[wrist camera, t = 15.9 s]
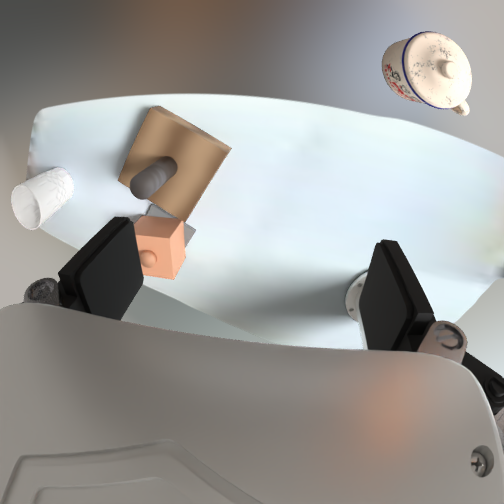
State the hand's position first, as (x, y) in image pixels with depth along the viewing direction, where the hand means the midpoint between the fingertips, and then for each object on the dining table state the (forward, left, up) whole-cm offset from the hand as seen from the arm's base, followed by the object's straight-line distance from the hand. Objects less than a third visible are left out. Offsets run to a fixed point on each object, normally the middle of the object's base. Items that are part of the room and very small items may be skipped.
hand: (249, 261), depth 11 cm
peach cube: (+6, +23, -30) cm, 38 cm away
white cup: (+28, +26, -30) cm, 49 cm away
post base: (+10, +11, -30) cm, 34 cm away
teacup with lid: (-10, -19, -30) cm, 37 cm away
